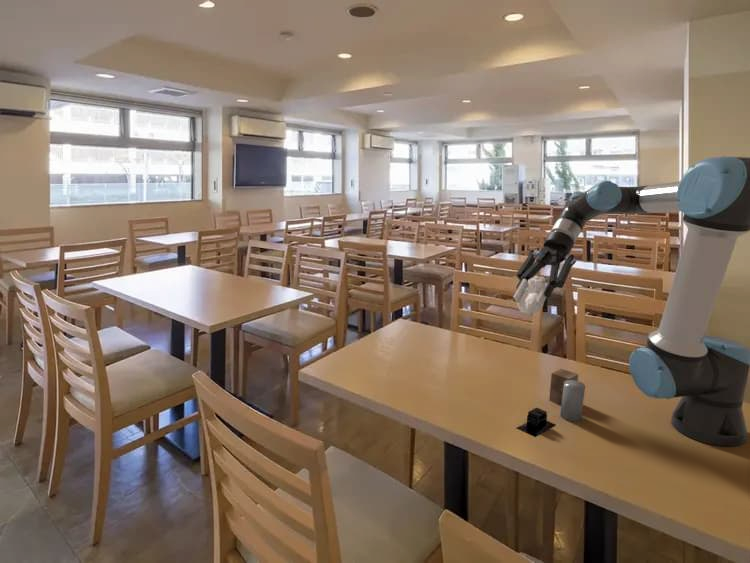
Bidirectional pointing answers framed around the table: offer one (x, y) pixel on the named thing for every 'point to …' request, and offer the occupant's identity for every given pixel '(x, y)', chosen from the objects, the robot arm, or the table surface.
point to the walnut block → (560, 384)
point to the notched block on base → (536, 423)
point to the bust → (531, 295)
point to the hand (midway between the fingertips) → (526, 302)
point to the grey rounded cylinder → (572, 400)
